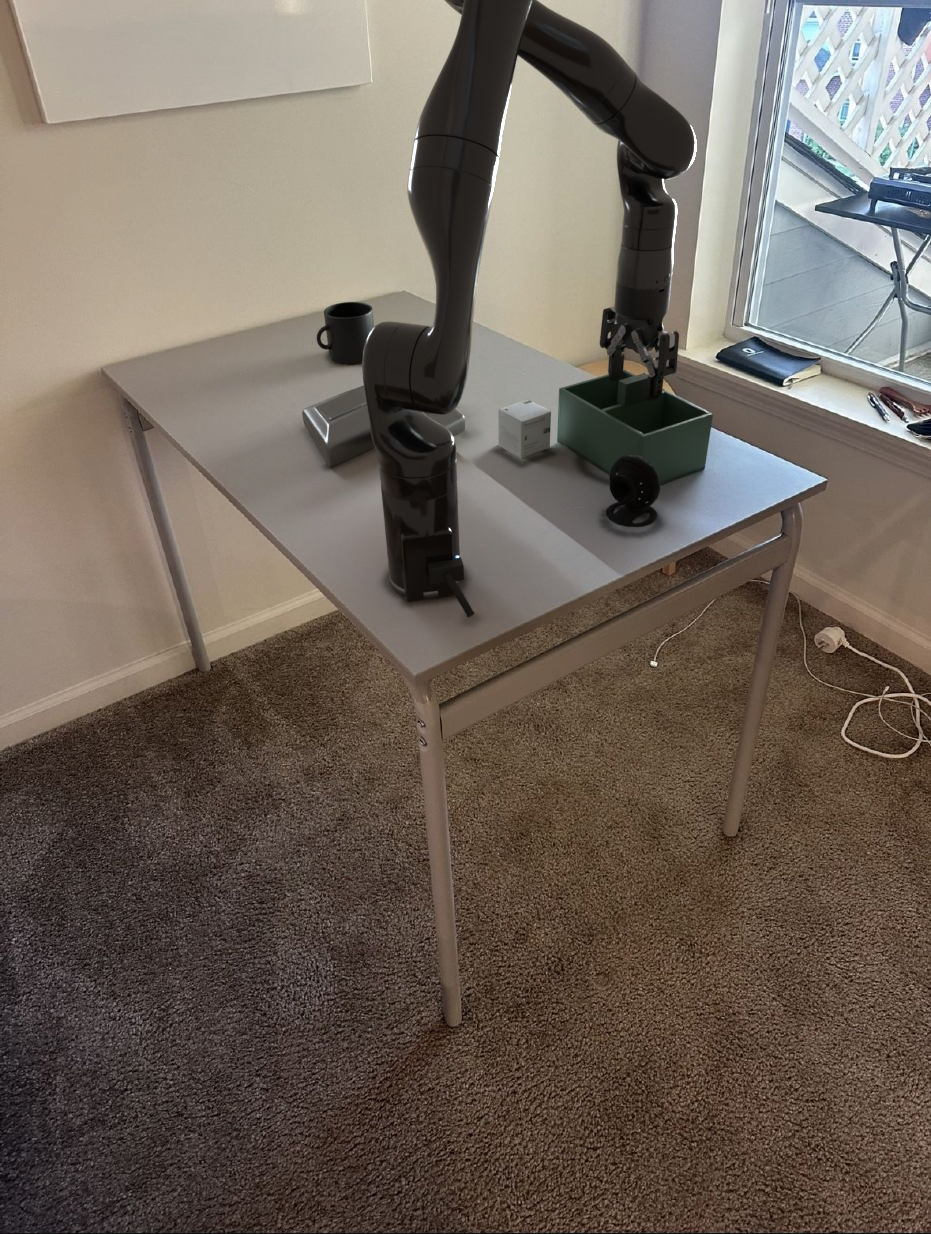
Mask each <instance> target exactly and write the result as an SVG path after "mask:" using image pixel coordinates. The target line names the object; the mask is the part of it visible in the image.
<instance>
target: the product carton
mask: <svg viewBox="0 0 931 1234" xmlns="http://www.w3.org/2000/svg"><path fill="white" fill-rule="evenodd" d="M497 412H498V414H497V417H498V418H497V419H498V420H497V421H498V424H497V425H498V427H497V428H498V430H497V431H498V436H497V438H498V439H497V440H498V445H497V446H499V447H500V448H502V449H504V450H506V451H507V452H509V453H511V454H512V455H514V456H516V457H518V458H519V459H523V458H526V457H528V456H531V455H533V454H537V453H539V452H542V451H545V450H547V449H551V425H552V424H551V423H552V411H551V410H549V409H547V407H544V406H542V405H540V404H538V403H536V402H534V401H531V400H530V399H526V400H523V401H519V402H516V403H513V404H510V405H507V406H505V407H502V408H498V411H497Z"/></svg>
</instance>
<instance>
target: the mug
mask: <svg viewBox="0 0 931 1234" xmlns="http://www.w3.org/2000/svg"><path fill="white" fill-rule="evenodd" d="M323 316H324V324H325V325H323V326H322V327H321V328H319V329H318V331H317V333H316V343H317V345H318V346H319V347H320V349H322V350H326V351H328V356H329V358H330V359H331V360H332V361H333V362H336V363H340V364H359V363H362V362H363V351H364V346H365V342H366V339H367V337H368V335H369V333H370V331H371V330H372V328H373V327H374V326H375V321H374V320H375V318H374V308H373V306H372V305H370V304H369V303H365V302H361V301H345V302H339V303H338V302H337V303H334V304H331V305H329V306H327V307H326V308H325V309H324V310H323ZM324 332H325V333H326V334H325V335H326V341H327V344H324V343H323V342H322V335H323V333H324Z"/></svg>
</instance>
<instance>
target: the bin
mask: <svg viewBox="0 0 931 1234" xmlns="http://www.w3.org/2000/svg"><path fill="white" fill-rule="evenodd" d="M648 376H649V373H647V372H643V373H639V374H636V373H633V372H631V371H629V370H627V369H623V376H622V378H621V379H618V380H615V381H612V380H610V379H609V374H608V373H607V374H604V375H601V376H597V377H594V378H591V379H587V380H584V381H581V382H577V383H572V384H570V385H566V386H563V387H560V388H558V406H557V407H558V409H557V429H556V430H557V433H556V435H557V436H556V442H557V443H559V444H560V445H562V446H564V447H565V448H567V449H568V450H570V451H571V452H573V453H575V454H576V455H577V456H579V457H581V458H582V459H584V460H585V461H587V462H588V463H590V464H591V465H593V466H594V467H596V468H597V469H599V470H601V471H602V472H604V473H605V474H607V475H609V476H610V471H611V468H612V466H613V464H614V463H615V462H616V461H617V460H618V459H619V458H620V457H622V456H625V455H637V456H641V457H643V458H644V459H646V460H647V461H648V462H649V463H650V464H652V465H653V466H654V468H655V470H656V471H657V473H658V476H659V480H660V486H662V485H665V484H668V483H671V482H673V481H676V480H679V479H682V478H684V477H687V476H690V475H692V474H695V473H699V472H702V471H704V470H705V469H706V464H707V457H708V450H709V444H710V438H711V431H712V424H713V417H714V413H712V412H710V411H709V410H706V409H704V408H702V407H700V406H698V405H696V404H694V403H693V402H691V401H688V400H686V399H685V398H683V397H681V396H678V395H677V394H675V393H672V392H670V391H668V390H666V389H664V388H663V389H662V394H661V396H660V397H659V398H658V399H656V400H652V401H649V400H647V399H646V388H647V378H648Z"/></svg>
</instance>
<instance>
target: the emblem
mask: <svg viewBox="0 0 931 1234" xmlns="http://www.w3.org/2000/svg"><path fill="white" fill-rule="evenodd" d="M423 413H425V412H423ZM301 414H302V422H303V425H304V427H305V429H306V431H307V433H308V434H309V435H310V438H311V439H312V441H313V442H314V444H315V446H316V447H317V449H318V451H319V453H320V454H321V456H322V458H323V460H324V461H325V463H326V464H327V466H328V467H329V468H333V467H335V466H337V465H340V464H341V463H342V464H343V463H345V462H346V461H348V460H350V459H352V458H353V459H354V458H355V457H356V456H359V455H361V454H363V453H366V452H368V451H370V450H372V449H375V447H374V445H373V441H372V436H371V429H370V422H369V415H368V409H367V403H366V397H365V391H364V384H363V385H361V386H359V387H355V388H352V389H349V390H347V391H344V392H342V393H339V394H336V395H333V396H331V397H329V398H326V399H324V400H322V401H319V402H317V403H314V404H312V405H309V406H307V407H305V408H303V409H302V412H301ZM425 414H426V415H427V416H428V417H430V418H431V419H433V420H434V421H436V422H437V423H439V424H441V425H442V426H444V427H445V428H447V429H448V430H449V431H450V432H451V433H452V435H453V436H456V435H458V434H461V433H463V432H465V431H466V418H465V415H464V414H463V413H462V411H461V410H460V409H459V407H458V406H457V407H456V408H455V410H454V411H452V412H451V413H449V414H446V415H440V414H432V413H425Z"/></svg>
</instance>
